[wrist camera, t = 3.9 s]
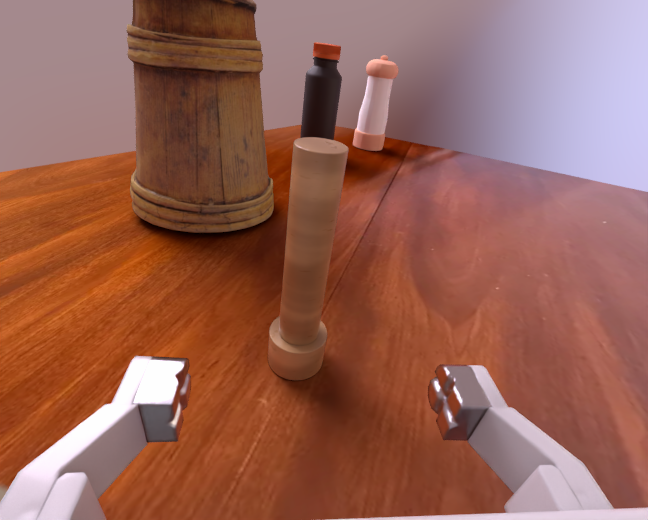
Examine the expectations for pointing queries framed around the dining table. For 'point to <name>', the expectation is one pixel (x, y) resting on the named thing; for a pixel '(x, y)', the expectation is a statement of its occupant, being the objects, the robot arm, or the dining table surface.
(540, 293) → the dining table surface
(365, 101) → the pepper shaker
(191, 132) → the tankard
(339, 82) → the bottle
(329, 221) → the wooden pestle
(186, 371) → the robot arm
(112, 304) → the dining table surface
